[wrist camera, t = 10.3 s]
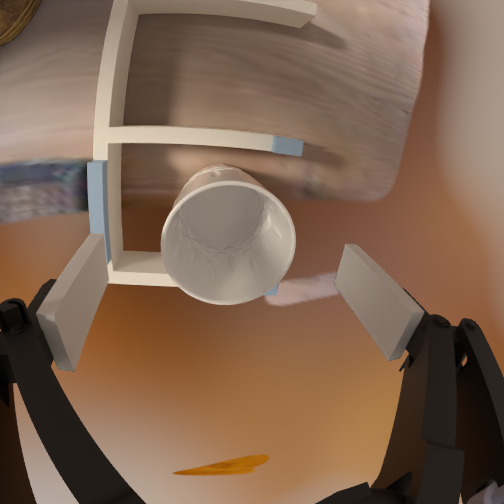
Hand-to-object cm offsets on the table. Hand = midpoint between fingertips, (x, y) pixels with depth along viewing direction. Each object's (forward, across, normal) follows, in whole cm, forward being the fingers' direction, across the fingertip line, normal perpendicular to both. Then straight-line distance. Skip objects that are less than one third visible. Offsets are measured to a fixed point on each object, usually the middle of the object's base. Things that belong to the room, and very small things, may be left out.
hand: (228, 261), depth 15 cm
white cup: (+12, 0, 0) cm, 12 cm away
